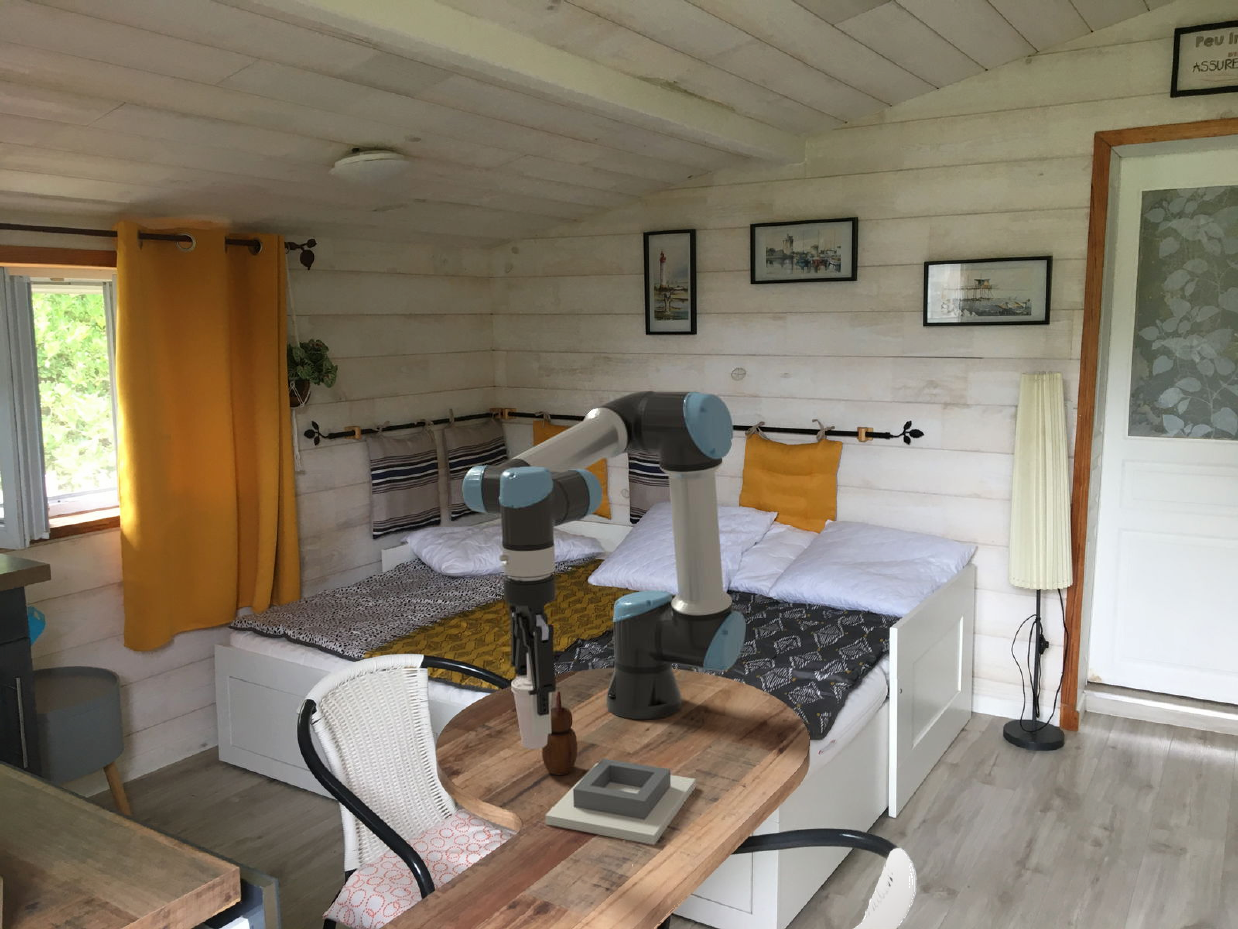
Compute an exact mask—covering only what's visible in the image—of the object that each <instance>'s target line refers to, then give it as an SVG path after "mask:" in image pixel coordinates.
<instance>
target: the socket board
mask: <svg viewBox="0 0 1238 929" xmlns="http://www.w3.org/2000/svg"><path fill="white" fill-rule="evenodd" d="M696 786H697V785H696V778H691V777H685V776H680V775H675V774H674V775H672V774H671V769H670V768H666V767H659V766H653V765H646V764H639V763H634V762H629V761H621V760H616V759H611V758H604V757H603V758H601V760H600V761H599V762H596V763H595V764H594V765H593V766H592V767H591V768H590V769H589V770H588V771H587V772H586V773H585V774H584V775H583V776H582V777H581V778H580V779H579V780H578V781H577V782H576V783H575V784H574V785H573V786H572V788H570V789H569V791H567V792H566V793H565V795H564V796H563V797H562V798H561V799H559V801H558V802H557V803H556V804H555V805H553V807H552V808H550V810H549V811H548V812H546V814H545V825H548V826H553V827H559V828H563V829H569V830H573V831H574V830H575V831H579V832H585V833H589V834H597V835H601V836H606V837H610V838H616V839H623V840H626V841H632V842H637V843H642V844H648V845H653V846H655V844H656V843H657V842H658V841H659V839H660V837H661V836H662V835H663V833H664V832H665V831H666V829H667V827H668V826H669V825H670V823H671V822H672V821H673V819H674V818H675V817H676V815H677V814H678V812H679V811H680V810H681V808H682V807H683V806H682V805H684V804H685V803H686V802H687V800H688V799H689V797H690V796H691V794H692V793H693V792H694V790H695V789H696V788H695V787H696ZM692 791H693V792H692ZM689 795H690V796H689ZM687 798H688V799H687ZM684 802H685V803H684Z"/></svg>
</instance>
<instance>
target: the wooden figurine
mask: <svg viewBox="0 0 1238 929" xmlns="http://www.w3.org/2000/svg"><path fill="white" fill-rule="evenodd" d="M555 700H556V702H555V707H551V733H550V734H548V739H547V745H546V746H545V747H543V748H541V756H542V760H543V764H544V766H545V769H546V770H547V772H548V773H550V774H551V775H555V776H565V775H567V774H569V773H570V772H572V770H573V769H574V767H575V764H576V760H577V757H578V739H577V734H576V732H575V730H574V729H573V728H572V726H573V714H572V712H571V710H570V708H568V707H565V706H562V697H561V691H557V695H556V699H555Z"/></svg>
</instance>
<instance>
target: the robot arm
mask: <svg viewBox="0 0 1238 929" xmlns="http://www.w3.org/2000/svg"><path fill="white" fill-rule="evenodd" d="M733 425H734V424H733V421H732V417H731V412H730V410H729V408H728V405H726V403H725V402H724V401H723V400H722V398H720V397H719V396H718V395H716V394H712V393H705V392H704V393H703V392H700V391H697V390H696V391H655V390H644V391H638V392H633V393H629V394H626V395H623V396H621V397H618V398H615V399H613V400H610V401H608V402H606V403H604V404H602V405H599V406H598V407H596V408H594V409H592V410H591V411H589V412H588V413H587V414H586V415H585V417H584V419H583V421H581V422H579V423H577V424H575V425H573V426H570V428H567V429H566V430H563V431H562V432H560V433H558V434H557V435H556V434H555V436H552V437H550V438H549V439H547V440H545V441H543V442H541V443H539V444H537V445H535V446H533V447H531V448H530V449H528V450H526V451H524V452H522V453H520V454H518V455H517V456H514V457H513V458H510V459H509V460H507V461H505V462H502V463H501V464H499V465H493V466H492V465H489V464H486V465H476V466H473V467H472V468H470V469H469V470H468V471H467V473H466V474H465V475H464V478H463V482H462V485H461V486H462V490H461V492H462V496H463V497H462V498H463V501H464V503H465V505H466V507H468V509H470V510H471V511H474V512H476V513H477V512H478V513H482V514H484V513H485V514H486V515H497V516H498V515H499V516H500V521H501V536H502V539H501V546H502V554H500V555H499V557H498V559H499V561H500V562H502V567H503V568H502V571H503V573H504V574H505V576H504V577H503V578H502V579H503V580H502V582H503V599H504V600H503V601H505V602H506V603H507V604H509V605H508V610H509V617H510V665H511V667H513V668H514V673H515V675H517V676H516V677H515V679H516V678H518V677H521V676H525V675H527V654H526V653H528V654H529V662H530V669H531V677H532V685H533V690H531V691H528V693H529V695H531V715H532V735H533V736H540V735H545V734H550V733H551V708H552V707H551V706H552V702H551V703H550V692H552V693H554V692H556V691H557V685H556V670H555V652H554V631H555V630H554V629H555V627H554V625H553V624H551V623H550V624H549V620H548V616H547V613H545V606H546V605H547V604H549V603H552V602H553V601H554V600H555V598H556V594H557V593H556V576H555V575H554V574H553V573H554V572H555V570H556V555H555V554H556V553H555V540H554V539H555V538H554V537H555V536H554V534H555V533H554V531H555V529H554V528H555V527H558V526H561V525H565V524H568V523H570V522H575V521H581V520H583V519H584V518H586V517H588V516H590V515H592V514H594V513H595V512H596V511H597V510H598V509H599V507H600V506H601V503H602V500H603V489H602V485H601V482H600V480H599V479H598V477H597V476H596V474H594V473H593V472H591V471H589V470H588V469H587V468H589V467H590V466H592V465H594V464H595V463H597V462H599V461H600V460H602V459H613V458H616V457H618V456H620V455H622V454H626V453H627V454H628V453H632V454H633V453H636V454H637V453H638V454H639V453H640V454H650V455H651V454H652V455H658V463H659V469H660V470H661V471H662V472H663V473H664V474H666V475H667V476H668V486H669V498H670V507H671V509H670V510H671V520H672V534H673V544H674V557H675V558H674V559H675V569H676V581H677V594H676V595H675V596H674V598H673V597H672V594H671V592H669V591H667V590H657V589H656V590H643V591H638V592H632V593H628V594H626V595H623V596H621V597H619V598H618V599H617V600H615V603H614V605H613V616H612V617H613V618H612V623H613V653H614V654H613V655H614V657H613V658H614V669H613V673H612V676H611V680H610V683H609V686H608V690H607V692H606V708H607V710H608V711H609V712H610V713H612V714H614V715H616V716H617V717H618V716H619V717H622V718H625V719H633V720H654V719H655V720H656V719H660V718H665V717H669V716H671V715H674V714H675V713H677V712H678V711H680V709H681V707H682V694H681V690H680V688H679V684H678V682H677V678H676V676H675V672H674V670H673V664H677V665H682V666H688V667H693V668H699V669H702V670H704V671H711V670H712V671H717V672H724V671H727V670H729V669H730V668H732V666H734V664H736V661H737V660H738V657H740V654H741V650H742V649H743V645H744V643H745V636H746V626H747V625H746V624H747V623H746V619H745V617H744V614H743V613H741V612H739V611H738V610H735V611H733V599H732V597H731V595H730V594H728V593H727V592H726V591H724V587H723V586H724V582H723V581H724V580H723V570H722V569H723V568H722V556H721V555H722V554H721V553H722V552H721V538H720V526H719V512H718V498H717V485H716V483H717V482H716V472H717V470H718V469H719V468H721V466H722V465H723V458H724V457H726V456H727V455H728V454H729V453H730V450H731V448H732V445H733V443H732V440H733V438H734V426H733Z"/></svg>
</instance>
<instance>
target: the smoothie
mask: <svg viewBox="0 0 1238 929" xmlns="http://www.w3.org/2000/svg"><path fill="white" fill-rule="evenodd" d="M526 654H527V675H525V676H521V677H518V678H516V677H515V678H514V679H513V680H512V681H511V687H510V688H511V692H512V693H513V697H514V703H515V708H516V716H517V719H518V726H519V731H520V732H519V734H520V739H521V744H522V747H523V748H525V749H529V750H540V749H542V748H543V747H545V746H546V745H547V739H548V734H545V735H540V736H533V735H532V715H531V695H529V693H528V691H531V690H533V685H532V677H531V669H530V662H529V654H528V653H526ZM552 693H553V692H550V703H551V704H552V696H553V695H552Z"/></svg>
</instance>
